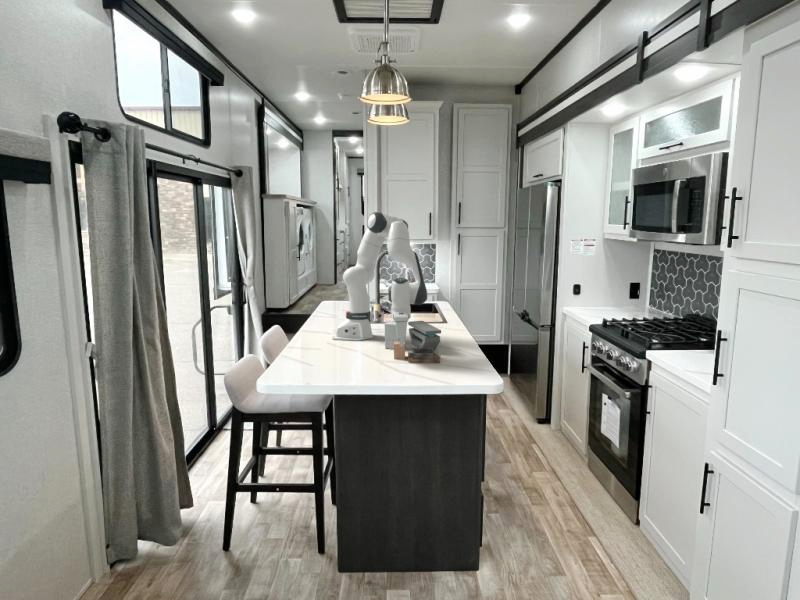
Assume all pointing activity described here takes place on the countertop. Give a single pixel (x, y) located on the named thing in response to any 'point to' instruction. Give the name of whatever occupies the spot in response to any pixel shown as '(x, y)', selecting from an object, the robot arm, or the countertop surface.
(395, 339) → the supplement box
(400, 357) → the block
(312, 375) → the countertop surface
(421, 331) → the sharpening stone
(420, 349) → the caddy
